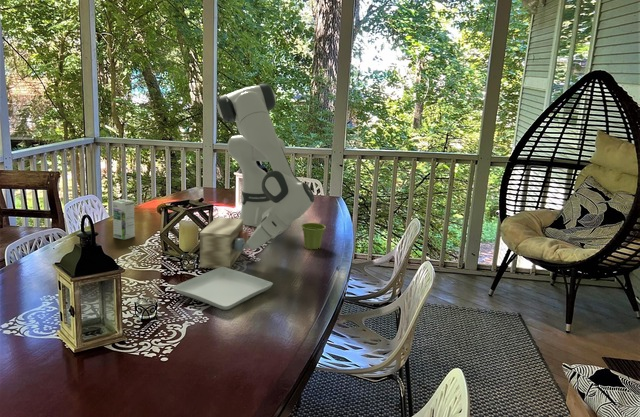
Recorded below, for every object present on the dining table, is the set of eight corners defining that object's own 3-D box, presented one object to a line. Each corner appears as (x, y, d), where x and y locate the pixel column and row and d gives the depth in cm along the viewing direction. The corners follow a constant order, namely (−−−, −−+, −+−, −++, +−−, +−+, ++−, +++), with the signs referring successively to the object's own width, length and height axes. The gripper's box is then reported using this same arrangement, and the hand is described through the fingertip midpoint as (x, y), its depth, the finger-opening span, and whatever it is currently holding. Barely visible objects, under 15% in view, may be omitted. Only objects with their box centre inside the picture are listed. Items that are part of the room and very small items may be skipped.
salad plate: (226, 317, 129) (226, 305, 128) (170, 296, 139) (170, 285, 139) (274, 292, 146) (275, 282, 145) (222, 275, 157) (222, 265, 156)
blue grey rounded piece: (221, 251, 164) (222, 239, 163) (225, 247, 168) (225, 235, 167) (241, 253, 164) (241, 240, 163) (244, 249, 168) (244, 236, 167)
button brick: (227, 243, 173) (227, 231, 172) (230, 240, 177) (230, 228, 176) (245, 245, 172) (245, 233, 171) (248, 241, 177) (248, 229, 176)
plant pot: (327, 246, 192) (329, 224, 190) (319, 252, 184) (321, 230, 182) (305, 242, 195) (306, 221, 193) (296, 249, 187) (297, 227, 185)
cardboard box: (199, 267, 162) (199, 232, 159) (216, 248, 182) (216, 217, 179) (229, 269, 162) (229, 234, 159) (242, 250, 181) (243, 219, 178)
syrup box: (113, 237, 187) (111, 201, 184) (125, 234, 193) (123, 198, 189) (123, 240, 185) (122, 203, 182) (135, 236, 190) (134, 200, 187)
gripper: (273, 207, 172) (245, 231, 175) (262, 222, 153) (231, 249, 155) (285, 220, 173) (257, 244, 176) (276, 237, 153) (245, 264, 156)
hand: (245, 247), depth 166 cm, fingers closed, pressing on blue grey rounded piece
